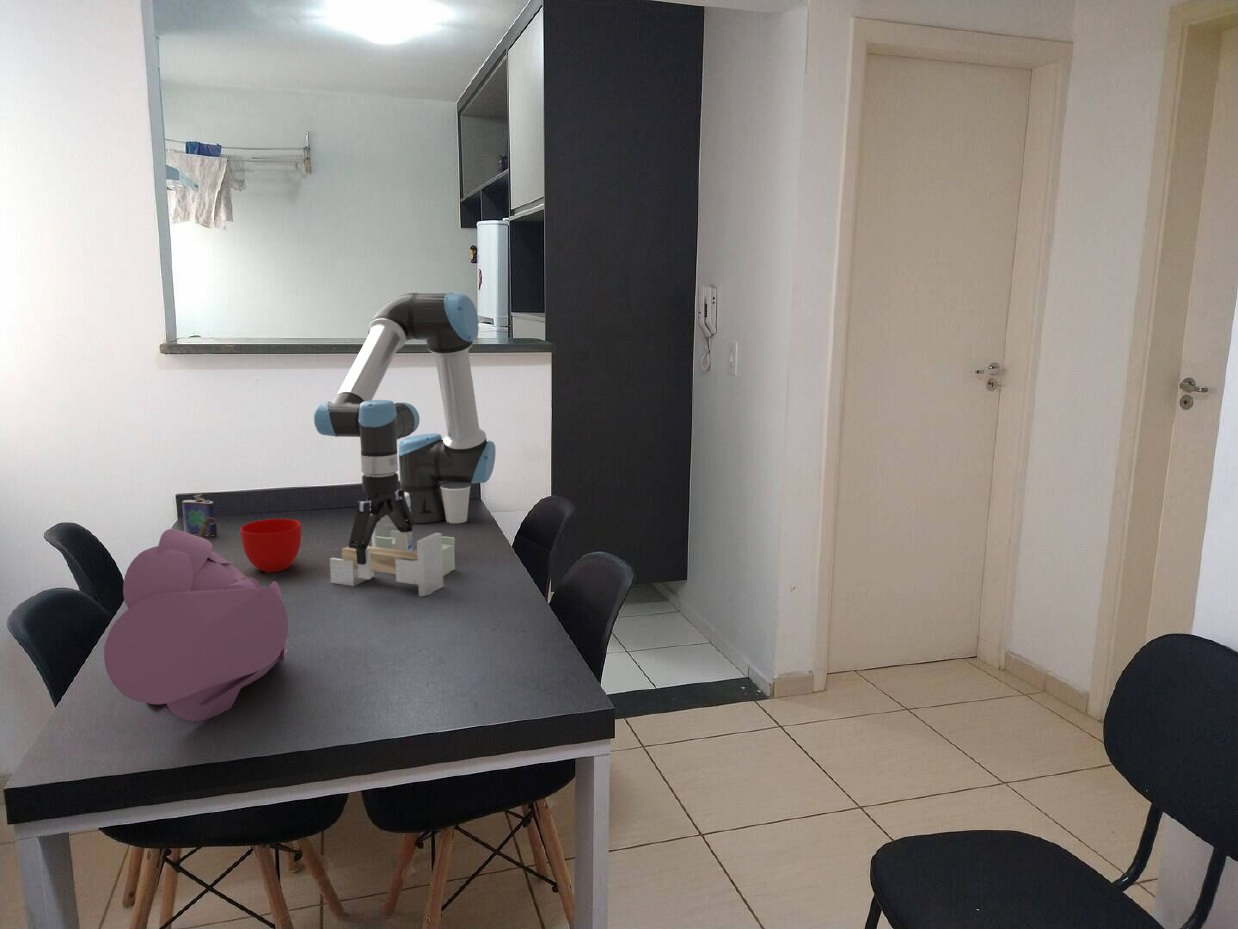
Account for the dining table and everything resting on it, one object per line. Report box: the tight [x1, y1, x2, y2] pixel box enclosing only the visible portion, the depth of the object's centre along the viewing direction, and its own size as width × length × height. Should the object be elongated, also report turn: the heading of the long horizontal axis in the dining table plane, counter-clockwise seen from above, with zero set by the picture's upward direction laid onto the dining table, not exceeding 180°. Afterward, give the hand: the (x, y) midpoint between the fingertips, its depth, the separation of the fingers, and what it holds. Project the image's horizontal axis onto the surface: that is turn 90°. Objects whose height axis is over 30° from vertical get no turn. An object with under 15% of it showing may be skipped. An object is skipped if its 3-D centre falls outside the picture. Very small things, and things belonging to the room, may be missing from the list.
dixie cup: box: [440, 482, 472, 524], centre depth 249 cm, size 8×8×10 cm
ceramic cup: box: [240, 518, 302, 573], centre depth 208 cm, size 13×17×10 cm
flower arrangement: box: [103, 528, 289, 722], centre depth 143 cm, size 35×24×28 cm
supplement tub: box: [371, 492, 414, 552], centre depth 217 cm, size 10×10×15 cm
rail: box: [341, 545, 418, 575], centre depth 195 cm, size 4×19×4 cm, turn 69°
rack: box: [375, 530, 456, 577], centre depth 207 cm, size 7×17×8 cm, turn 69°
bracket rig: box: [329, 532, 444, 597], centre depth 195 cm, size 7×24×12 cm, turn 69°
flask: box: [181, 493, 218, 537], centre depth 233 cm, size 9×3×11 cm, turn 76°
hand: (384, 569), depth 196 cm, fingers open, 13 cm apart
